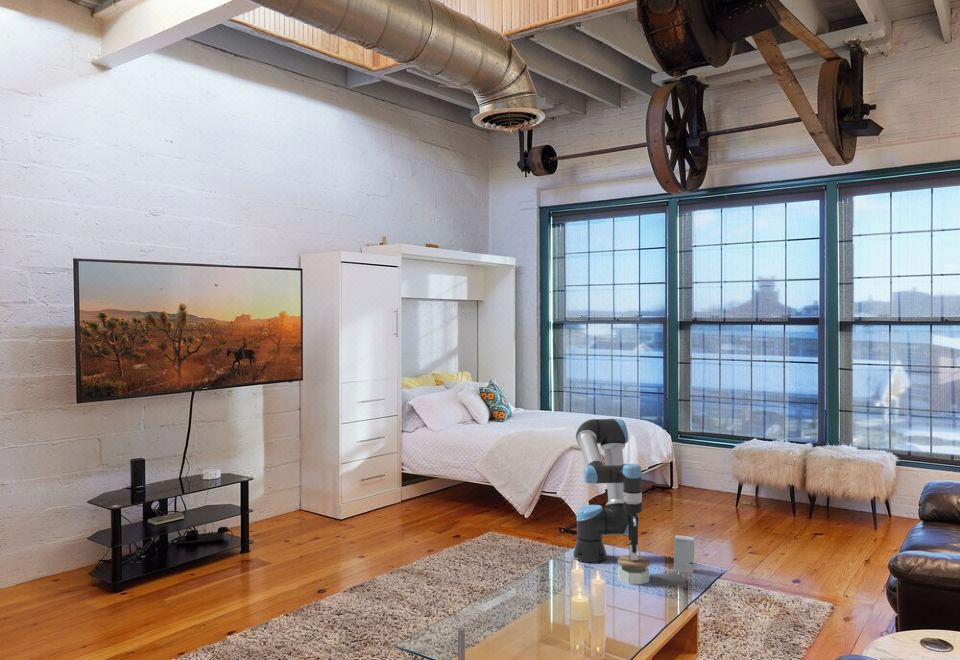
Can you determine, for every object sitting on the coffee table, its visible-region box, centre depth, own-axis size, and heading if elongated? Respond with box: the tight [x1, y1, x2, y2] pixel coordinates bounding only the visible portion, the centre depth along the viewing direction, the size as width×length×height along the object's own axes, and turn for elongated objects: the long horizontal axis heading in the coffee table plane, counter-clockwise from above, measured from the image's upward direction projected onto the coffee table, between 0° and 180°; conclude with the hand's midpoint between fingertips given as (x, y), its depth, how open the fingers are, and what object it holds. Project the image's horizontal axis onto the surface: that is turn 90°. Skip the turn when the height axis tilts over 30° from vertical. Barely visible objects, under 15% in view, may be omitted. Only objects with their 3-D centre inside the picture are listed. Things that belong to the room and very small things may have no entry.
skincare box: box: [673, 534, 695, 574], centre depth 308 cm, size 8×6×15 cm
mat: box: [649, 573, 688, 587], centre depth 297 cm, size 13×13×1 cm
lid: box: [617, 539, 650, 568], centre depth 298 cm, size 13×13×9 cm
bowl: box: [617, 565, 650, 585], centre depth 298 cm, size 12×12×5 cm
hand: (633, 558), depth 298 cm, fingers closed on lid, 3 cm apart
